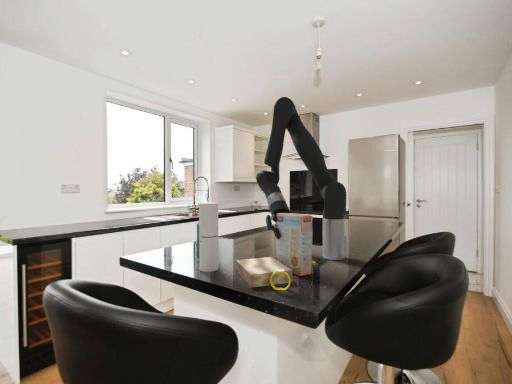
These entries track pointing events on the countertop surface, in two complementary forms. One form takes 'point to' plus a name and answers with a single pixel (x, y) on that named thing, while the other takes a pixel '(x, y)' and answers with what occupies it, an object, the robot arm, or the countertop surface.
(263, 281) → the oak plinth
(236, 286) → the countertop surface
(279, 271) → the yellow ring
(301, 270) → the cracker box
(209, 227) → the cylindrical container
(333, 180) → the robot arm
